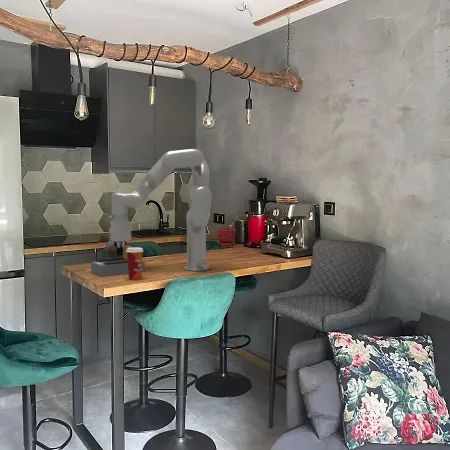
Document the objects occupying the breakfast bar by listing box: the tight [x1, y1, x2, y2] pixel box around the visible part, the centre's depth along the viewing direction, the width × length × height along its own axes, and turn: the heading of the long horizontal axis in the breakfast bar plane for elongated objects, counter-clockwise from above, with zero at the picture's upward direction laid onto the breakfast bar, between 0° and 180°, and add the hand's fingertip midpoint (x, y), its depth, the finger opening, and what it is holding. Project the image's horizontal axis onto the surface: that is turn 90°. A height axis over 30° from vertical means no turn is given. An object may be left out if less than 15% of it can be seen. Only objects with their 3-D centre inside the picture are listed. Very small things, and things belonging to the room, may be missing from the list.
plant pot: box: [216, 227, 237, 247], centre depth 328 cm, size 13×13×12 cm
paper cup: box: [126, 246, 144, 281], centre depth 209 cm, size 8×8×14 cm
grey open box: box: [90, 257, 146, 278], centre depth 225 cm, size 14×22×6 cm, turn 126°
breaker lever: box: [123, 245, 133, 260], centre depth 228 cm, size 5×3×8 cm, turn 36°
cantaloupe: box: [104, 240, 133, 258], centre depth 244 cm, size 14×14×15 cm
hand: (119, 255), depth 226 cm, fingers closed
